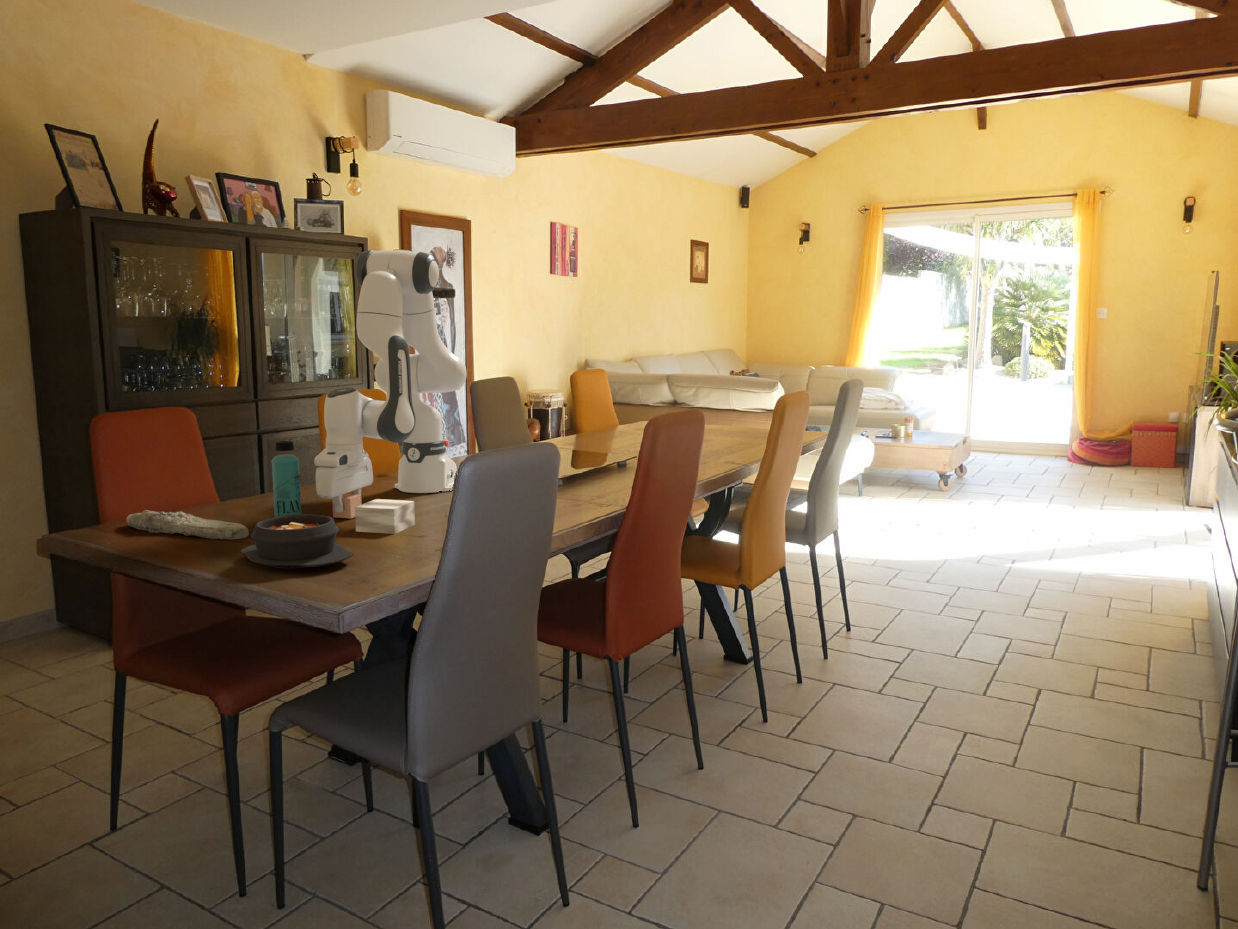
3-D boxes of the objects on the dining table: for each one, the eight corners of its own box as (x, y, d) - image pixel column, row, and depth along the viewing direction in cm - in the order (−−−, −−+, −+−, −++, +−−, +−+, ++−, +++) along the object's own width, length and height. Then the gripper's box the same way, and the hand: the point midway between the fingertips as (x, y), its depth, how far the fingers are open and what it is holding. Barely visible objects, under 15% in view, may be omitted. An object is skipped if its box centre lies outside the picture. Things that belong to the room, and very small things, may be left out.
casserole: (375, 560, 185) (373, 520, 184) (301, 582, 169) (299, 538, 168) (293, 544, 198) (291, 506, 196) (217, 563, 182) (215, 522, 181)
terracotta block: (344, 513, 228) (343, 493, 227) (361, 514, 227) (361, 494, 226) (333, 517, 223) (332, 497, 223) (351, 518, 222) (350, 498, 221)
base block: (377, 523, 219) (376, 498, 218) (415, 525, 217) (414, 501, 216) (355, 532, 210) (354, 507, 209) (394, 534, 207) (393, 509, 206)
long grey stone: (226, 550, 198) (260, 542, 207) (227, 527, 198) (260, 520, 207) (112, 528, 211) (148, 521, 220) (112, 505, 210) (148, 500, 220)
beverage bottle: (273, 527, 214) (268, 443, 211) (275, 521, 220) (270, 439, 217) (302, 525, 216) (297, 442, 212) (303, 519, 222) (299, 439, 219)
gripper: (356, 448, 233) (358, 500, 235) (309, 460, 214) (312, 517, 216) (378, 449, 232) (380, 501, 234) (333, 461, 212) (335, 518, 214)
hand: (347, 509), depth 225 cm, fingers closed on terracotta block, 5 cm apart
